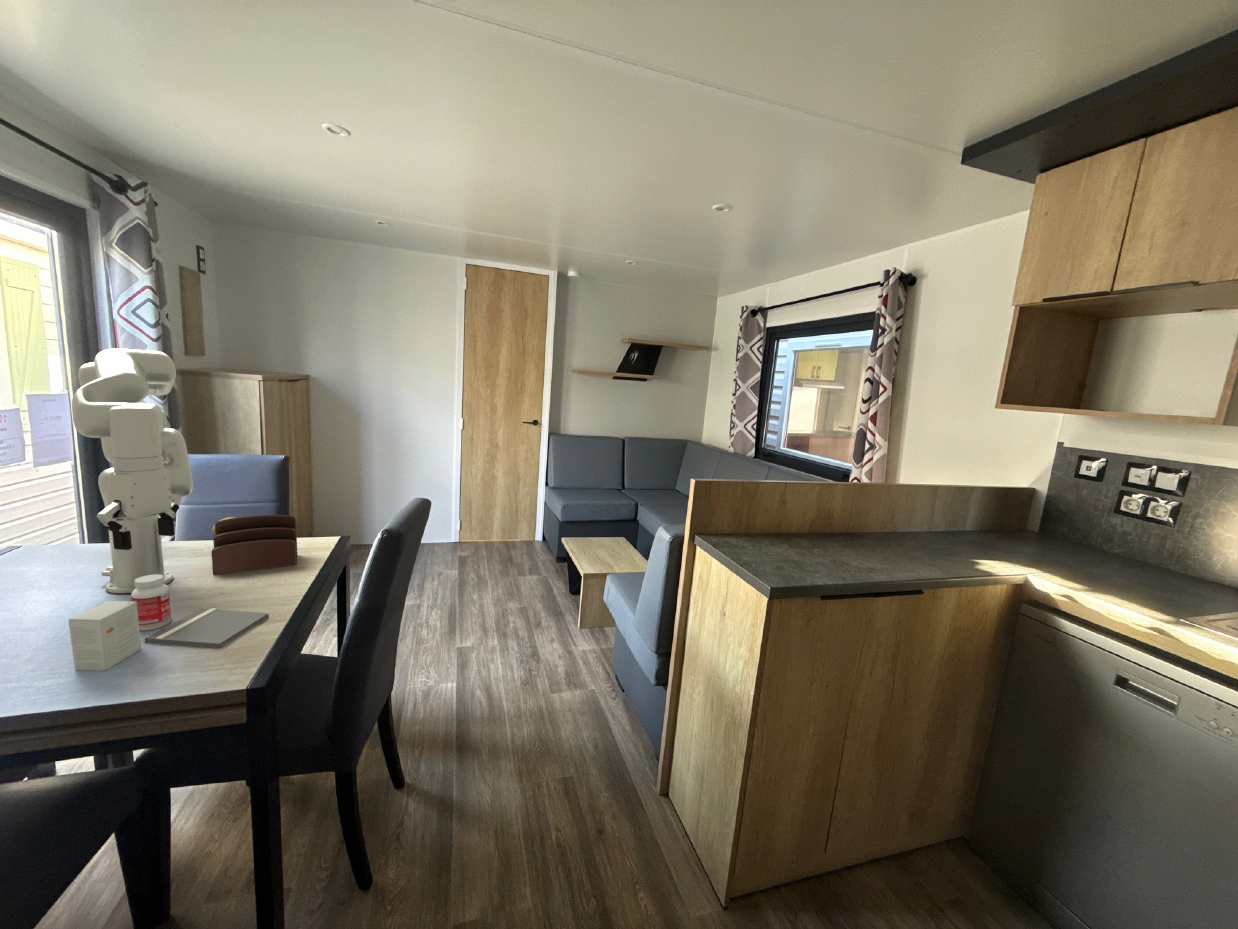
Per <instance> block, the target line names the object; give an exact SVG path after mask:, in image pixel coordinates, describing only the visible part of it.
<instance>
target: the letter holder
mask: <svg viewBox="0 0 1238 929" xmlns="http://www.w3.org/2000/svg"><path fill="white" fill-rule="evenodd" d="M220 520H221V519H220ZM214 525H215V533H216V536H215V537H214V536H213V539H212V540H213V541H212V542H213V549H212V550H211V563H212V564H211V566H212V569H211V570H212V574H213V576H216V575H217V576H218V575H222V574H223V575H224V574H231V573H240V572H241V573H243V572H250V571H259V570H267V569H275V568H283V567H294V566H297V565H298V554H299V552H298V537H297V518H296V517H295V516H294V515H288V514H287V515H286V514H285V515H284V514H263V515H250V516H249V515H248V516H240V517H239V516H238V517H235V518H232V519H226V520H221V521H219V520H217V521H216V522H215V524H214Z"/></svg>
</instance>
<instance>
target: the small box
mask: <svg viewBox="0 0 1238 929" xmlns="http://www.w3.org/2000/svg"><path fill="white" fill-rule="evenodd" d="M68 626H69V627H68V628H69V634H70V640H71V641H70V642H71V649H72V657H73V664H74V670H75V671H97V670H106V671H108V670H110V668H113V667H114V666H116V665H117V664H119V663H120V662H123V661H124V660H125V659H127V658H129V657H130V656H132V655H133V654H135V653H137V652H138V651H139V650H141V649H142V644H141V634H140V633H141V631H140V630H139V621H138V612H137V602H132V601H127V600H126V601H125V600H124V601H122V600H121V601H120V600H106V601H104V602H102V603H100V604H98V605H96V606H94V607H92V608H89V609H88V610H85V611H83V612H82V613H80V614H76V615H75V616H73V617H70V618H69V619H68Z"/></svg>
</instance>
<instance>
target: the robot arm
mask: <svg viewBox="0 0 1238 929" xmlns="http://www.w3.org/2000/svg"><path fill="white" fill-rule="evenodd" d="M175 366H176V365H175V362H174V361H173V359H172V358H171V357H170V356H169V355H168V354H166V353H164V352H162V351H158V350H156V351H155V350H147V349H146V350H143V349H131V348H130V349H129V348H108V349H104V350H102V351H100V352H98V353H97V354H96V355H95V357H94V360H93V361H92V362H88V363H84V364H83V365H81V366H80V367H79V369H78V373H77V375H78V376H77V377H78V378H77V379H78V383H79V386H80V388H79V387H78V389H77V390H76V391H75V393H74V395H73V397H72V400H71V411H72V413H71V414H72V420H73V426H74V428H75V430H76V431H77V432H78V433H79V434H80V436H81V435H82V436H84V437H86V438H91V439H92V438H95V439H100V441H101V448H102V453H103V455H104V458H105V459H106V460H107V461H108V462H109V463H111V464H112V465H113V466H112V467H110V468H109V467H108V468H106V469H104V470H103V471H102V472H100V474H99V475H98V480H97V481H98V482H97V483H98V488H99V491H100V495H101V498H102V500H103V501H102V502H103V504H104V509H102V510H101V511H100V512H98V513H97V514H96V518H97V519H98V521H99V522H100V523H101V525H102V527H104V528H106V529H107V530H108V536H109V537H108V538H109V546H110V558H111V565H109V566H107V567H106V568H105V570H102V572H101V576H102V577H109V579H110V580H109V581H108V582H106V584H105V590H106V591H107V592H109V593H112V594H131V593H132V592H133V590H135V589H136V587H135V582H134V581H135V579H137V578H139V577H142V576H147V575H156V574H158V575H163V576H164V583H163V584H166V585H167V584H169V583H170V582H172V580H173V579H174V577H173V573H171V571H170V572H169V571H165V567H164V566H165V565H164V553H163V545H162V537H172V536H173V537H174V536H175V532H176V531H175V522H174V520H175V518H176V517H177V512H178V510H179V509H180V504H181V500H182V498H185V497H187V496H190V494H192V491H193V488H194V482H193V481H194V480H193V475H192V470H191V465H190V459H189V455H188V454H189V453H188V449H187V448H188V447H187V444H186V440H185V438H184V435H183V434H182V432H180V430H178V429H175V428H171V427H167V426H168V419H167V414H166V412H165V410H163V409H162V408H161V407H160V406H159V405H157V404H154V403H150V402H149V403H148V402H142V401H143V400H144V399H145V398H147V396H165V395H168V394H169V393H171V391H172V389H173V386H174V384H175V382H176V378H177V371H176V370H177V369H176V367H175Z"/></svg>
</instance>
